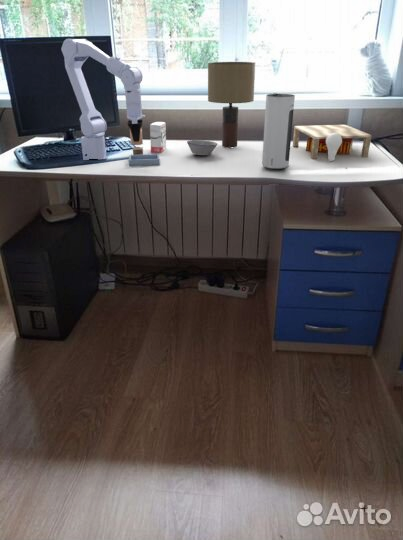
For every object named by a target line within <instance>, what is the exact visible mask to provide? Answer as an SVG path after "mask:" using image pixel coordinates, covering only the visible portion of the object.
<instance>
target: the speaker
mask: <svg viewBox="0 0 403 540" xmlns="http://www.w3.org/2000/svg"><path fill="white" fill-rule="evenodd" d="M295 97H296V95H295V94H291V93H278V92H277V93H276V92H274V93H268V94H266V96H265V108H264V109H265V110H264V112H265V113H264V126H263V128H264V129H263V143H262V159H261V160H262V161H261V165H262V167H264V168H267V169H274V170H277V169H278V170H279V169H280V170H281V169H285V168H288V167H289V165H290V156H291V155H290V153H291V145H292V144H291V143H292V133H293V132H292V131H293V121H294V109H295Z"/></svg>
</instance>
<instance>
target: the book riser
mask: <svg viewBox="0 0 403 540" xmlns="http://www.w3.org/2000/svg"><path fill="white" fill-rule="evenodd" d="M293 128H294V129H293V139H292V146H293V147H294V146H298V147H299V141H300V132H301V133H302V134H305V135H307V136H308V137H309V138H310V137H312V138H313V141H312V150H311V151H310V158H311V160H317V159H318V154H319V152H318V146H319V139H326V138H327V137H328V136H329V135H330V134H332V133H337V134H339V135H340V136H341V138H353V139H354V138H355V139H356V138H359V139H360V138H363V144H362V147H361V154H360V156H361V157H362V158H368V157H369V151H370V147H371V142H372V141H371V140H372V134H370V133H367V132H365V131H362V130H360V129H357V128H354V127H353V126H350V125H347V124H321V125H320V124H319V125H314V124H313V125H294V127H293Z"/></svg>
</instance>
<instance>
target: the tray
mask: <svg viewBox="0 0 403 540" xmlns="http://www.w3.org/2000/svg"><path fill="white" fill-rule="evenodd" d="M128 156H129V157H128V166H129V167H134V166H135V167H137V166H138V167H139V166H161V164H160V163H161V161H160V153H154V154H153V153H152V154H151V153H149V154H143V155H133V154H129V155H128Z"/></svg>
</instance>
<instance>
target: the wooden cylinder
mask: <svg viewBox="0 0 403 540" xmlns="http://www.w3.org/2000/svg"><path fill="white" fill-rule="evenodd" d="M129 138H130V145H132V146H141V145H143V144H144V142H143V128H142V127H141V130H140V139H139V141H138V142H134V141H133V137H132V133H131V130H130V129H129Z"/></svg>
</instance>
